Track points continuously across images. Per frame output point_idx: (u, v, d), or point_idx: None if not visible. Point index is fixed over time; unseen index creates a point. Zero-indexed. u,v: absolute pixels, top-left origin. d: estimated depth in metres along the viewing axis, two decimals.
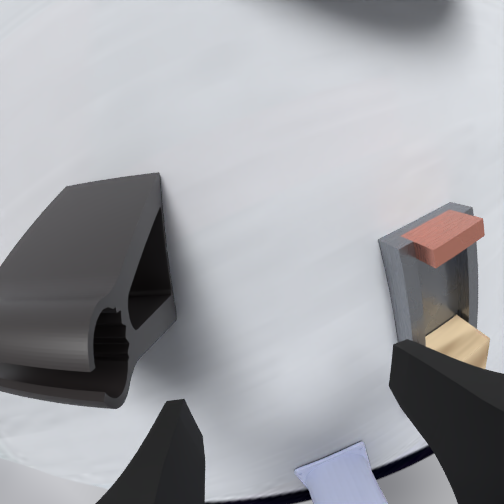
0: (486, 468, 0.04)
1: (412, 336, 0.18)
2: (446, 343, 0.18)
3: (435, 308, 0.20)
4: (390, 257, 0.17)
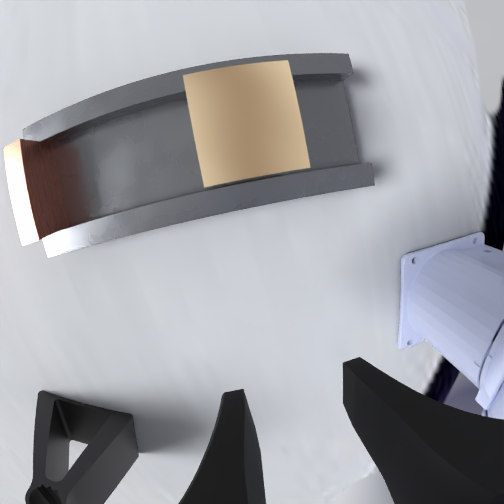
0: None
1: (165, 225, 0.14)
2: None
3: (159, 155, 0.14)
4: None
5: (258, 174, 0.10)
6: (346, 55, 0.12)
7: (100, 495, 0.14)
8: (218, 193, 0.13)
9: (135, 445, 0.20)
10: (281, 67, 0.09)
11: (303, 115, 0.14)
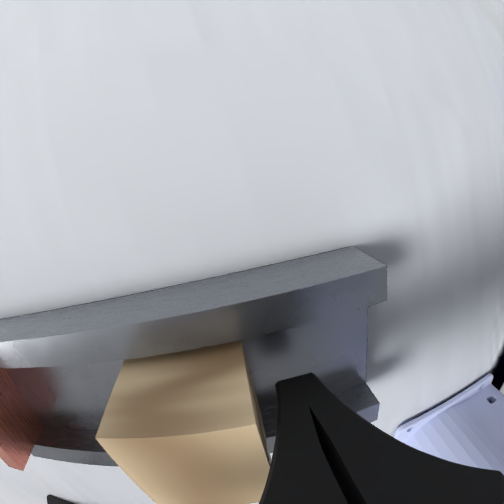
0: None
1: None
2: None
3: None
4: None
5: None
6: (382, 270, 0.08)
7: None
8: None
9: None
10: (243, 434, 0.06)
11: (300, 348, 0.10)
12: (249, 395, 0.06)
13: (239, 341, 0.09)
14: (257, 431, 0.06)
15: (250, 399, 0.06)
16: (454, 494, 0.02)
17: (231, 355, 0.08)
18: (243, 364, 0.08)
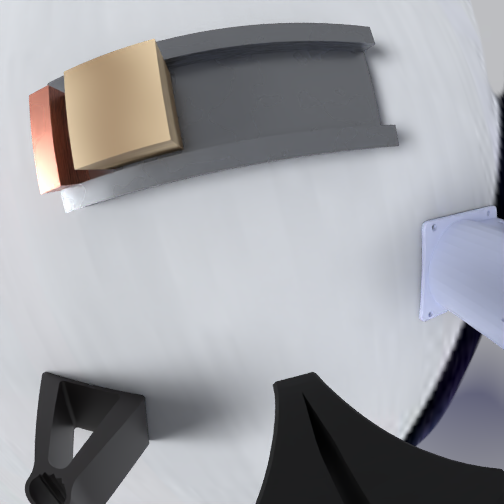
0: None
1: (197, 174, 0.13)
2: None
3: (190, 110, 0.14)
4: (90, 204, 0.14)
5: (119, 152, 0.10)
6: (367, 28, 0.12)
7: (108, 485, 0.13)
8: (252, 143, 0.13)
9: (146, 431, 0.19)
10: (147, 47, 0.09)
11: (329, 80, 0.14)
12: (158, 48, 0.09)
13: (166, 67, 0.12)
14: (155, 46, 0.09)
15: (157, 47, 0.09)
16: (457, 492, 0.02)
17: None
18: (162, 58, 0.11)
